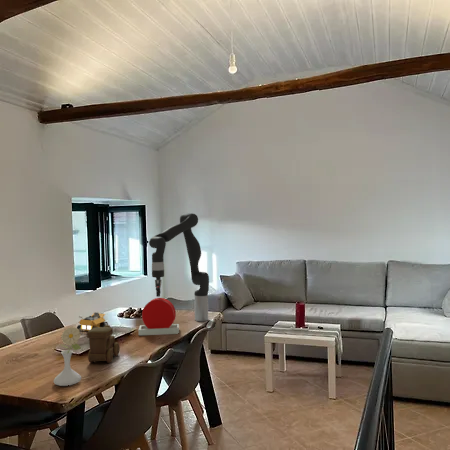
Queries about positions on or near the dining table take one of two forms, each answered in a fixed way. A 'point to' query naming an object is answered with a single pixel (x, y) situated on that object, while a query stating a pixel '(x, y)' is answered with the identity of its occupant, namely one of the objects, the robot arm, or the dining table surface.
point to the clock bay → (159, 330)
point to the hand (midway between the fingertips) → (158, 295)
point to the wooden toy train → (102, 344)
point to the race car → (92, 322)
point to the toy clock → (158, 314)
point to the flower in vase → (68, 375)
